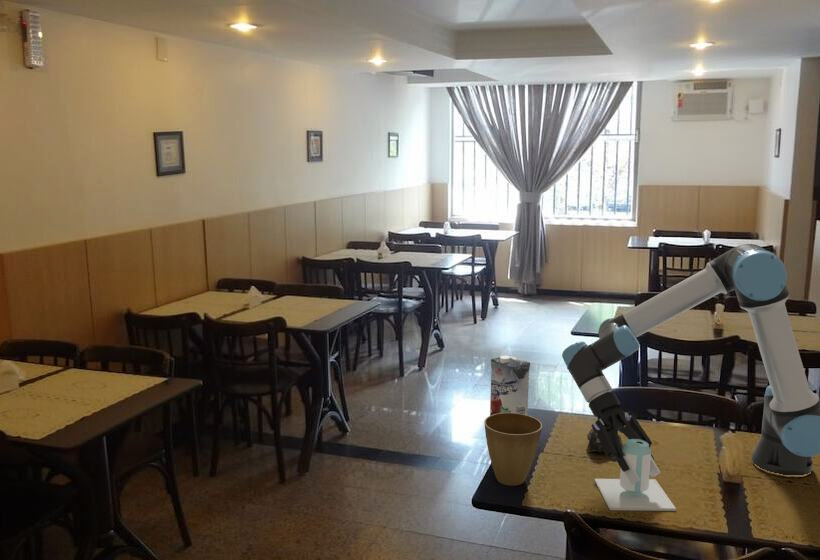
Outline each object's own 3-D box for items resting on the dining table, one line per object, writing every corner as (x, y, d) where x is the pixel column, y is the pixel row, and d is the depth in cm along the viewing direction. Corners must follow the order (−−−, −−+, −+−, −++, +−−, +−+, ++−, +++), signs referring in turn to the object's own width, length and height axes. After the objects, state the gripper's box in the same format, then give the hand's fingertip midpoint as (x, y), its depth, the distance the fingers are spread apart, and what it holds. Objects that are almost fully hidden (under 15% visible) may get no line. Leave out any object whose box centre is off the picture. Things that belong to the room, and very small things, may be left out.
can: (617, 481, 196) (620, 437, 193) (645, 482, 195) (648, 438, 193) (622, 493, 189) (625, 448, 187) (651, 495, 188) (654, 449, 186)
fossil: (625, 457, 214) (609, 426, 213) (594, 468, 216) (579, 438, 216) (623, 441, 224) (609, 412, 223) (594, 452, 227) (580, 423, 226)
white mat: (655, 481, 200) (655, 479, 200) (675, 510, 184) (675, 508, 184) (594, 480, 200) (594, 478, 200) (609, 510, 184) (610, 507, 184)
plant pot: (472, 482, 199) (473, 424, 196) (501, 463, 210) (502, 408, 207) (522, 498, 190) (524, 438, 187) (549, 477, 202) (552, 420, 199)
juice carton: (508, 435, 230) (511, 349, 225) (530, 447, 222) (534, 358, 217) (484, 440, 226) (487, 353, 221) (506, 453, 217) (509, 362, 212)
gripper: (617, 397, 207) (662, 475, 196) (565, 411, 196) (609, 494, 186) (634, 383, 201) (681, 463, 191) (581, 397, 190) (628, 482, 180)
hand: (646, 478), depth 188 cm, fingers closed on can, 7 cm apart
